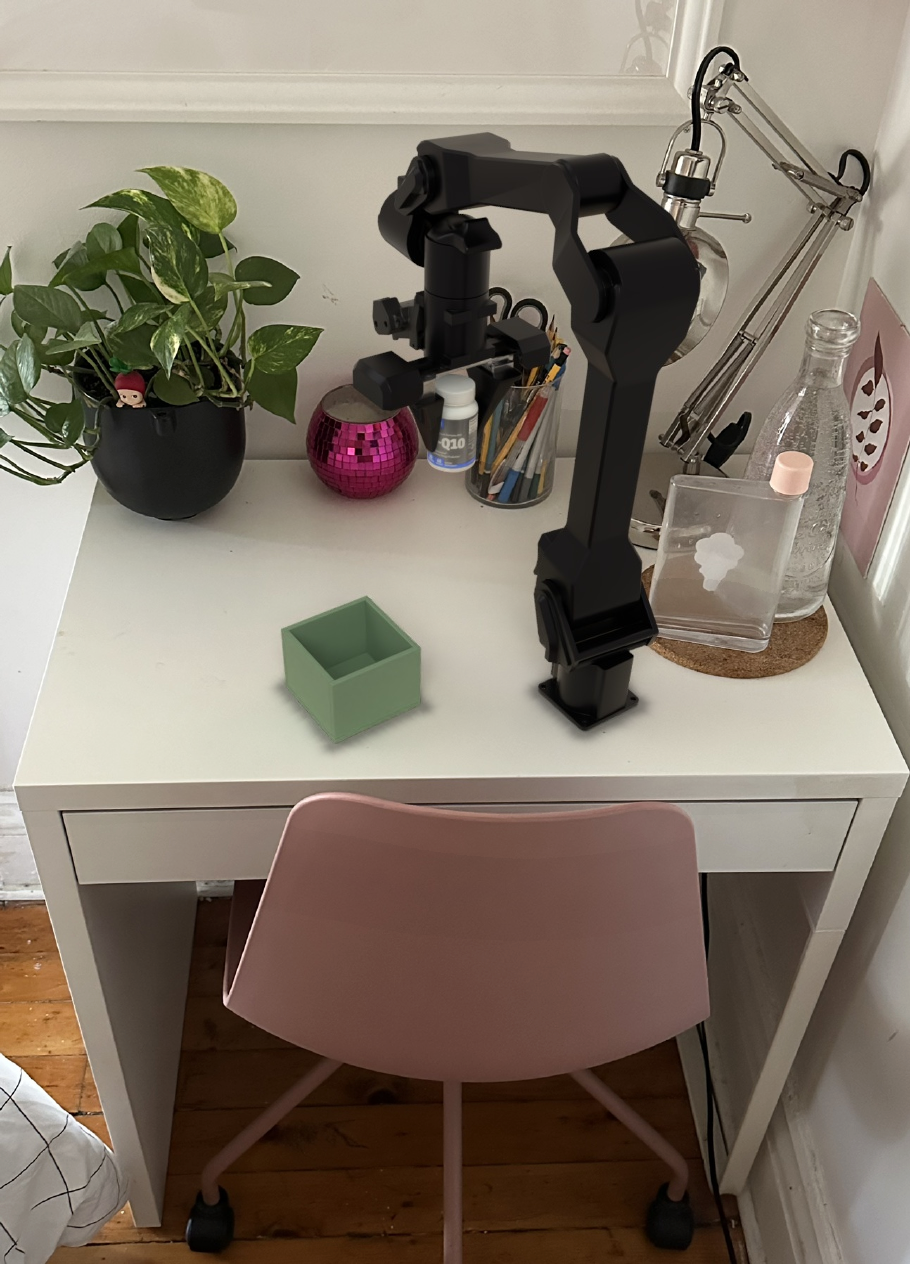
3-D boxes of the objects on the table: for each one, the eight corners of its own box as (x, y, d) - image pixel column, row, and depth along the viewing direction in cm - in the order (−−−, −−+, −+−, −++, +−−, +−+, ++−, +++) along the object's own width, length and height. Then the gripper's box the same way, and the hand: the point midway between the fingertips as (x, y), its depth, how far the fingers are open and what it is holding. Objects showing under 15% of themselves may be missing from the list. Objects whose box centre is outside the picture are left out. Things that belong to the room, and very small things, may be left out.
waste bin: (420, 705, 99) (421, 647, 94) (335, 743, 95) (332, 685, 91) (368, 651, 104) (366, 594, 100) (285, 686, 100) (280, 628, 96)
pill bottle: (420, 468, 110) (421, 389, 105) (435, 445, 114) (437, 367, 108) (467, 477, 109) (470, 398, 104) (481, 454, 113) (485, 375, 107)
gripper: (488, 238, 110) (481, 386, 119) (318, 277, 101) (326, 433, 111) (561, 277, 103) (548, 431, 112) (384, 322, 94) (387, 485, 104)
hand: (452, 443), depth 110 cm, fingers closed on pill bottle, 5 cm apart
